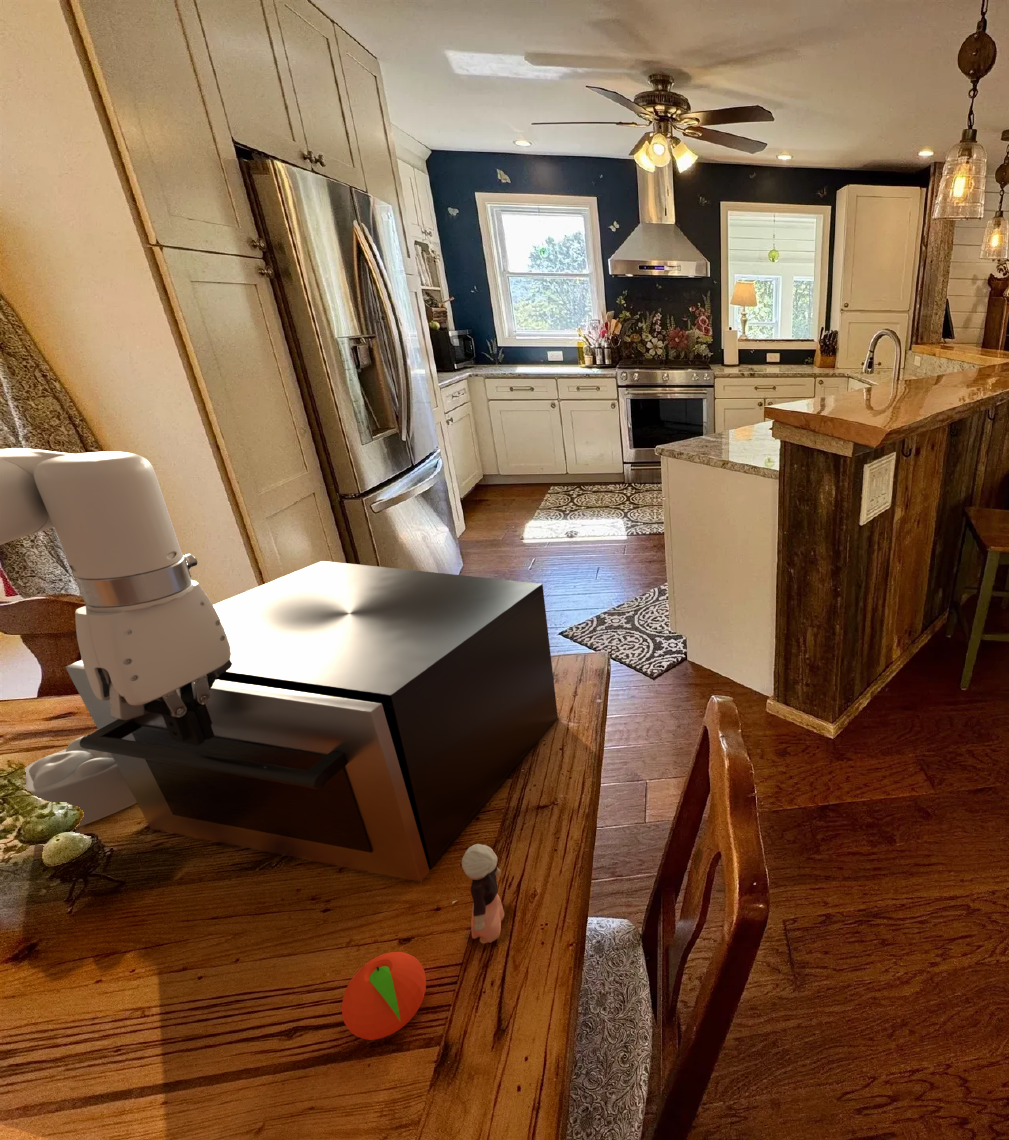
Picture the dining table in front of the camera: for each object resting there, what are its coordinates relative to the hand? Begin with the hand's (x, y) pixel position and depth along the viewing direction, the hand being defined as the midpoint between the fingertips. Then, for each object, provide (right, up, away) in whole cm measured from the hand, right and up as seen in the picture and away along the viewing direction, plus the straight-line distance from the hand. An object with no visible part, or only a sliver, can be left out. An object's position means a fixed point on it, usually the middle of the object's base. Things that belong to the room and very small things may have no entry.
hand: (195, 738), depth 65 cm
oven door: (0, -19, +10) cm, 21 cm away
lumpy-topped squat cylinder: (-30, -14, +20) cm, 39 cm away
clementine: (+25, -26, -6) cm, 37 cm away
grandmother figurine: (+31, -23, +2) cm, 39 cm away
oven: (+4, -12, +28) cm, 30 cm away
